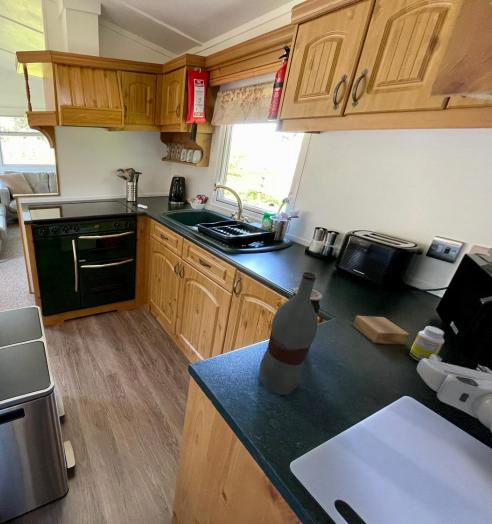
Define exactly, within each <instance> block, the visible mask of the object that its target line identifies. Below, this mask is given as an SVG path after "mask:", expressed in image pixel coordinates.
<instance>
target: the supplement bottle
mask: <svg viewBox="0 0 492 524" xmlns="http://www.w3.org/2000/svg"><path fill="white" fill-rule="evenodd" d="M444 335H445V332H444V331H443V330H442V329H440V328H438V327H436V326H431V325H426V326H425V328H424V329H423V330H421V331H418V333H417V335H416V337H415V339H414V340H413V341H414V342H413V343H412V346H411V347H410V349H409V352H408V354H409V356H410V357H411V358H412V359H413V360H415V361H417V362H418V363H419V362H420V361H421V360H422V359H423V358H427V359H429V357H430V356H431V354H433V355H437V356H438V354H439V353H440V351H441V349H442V347H443V345H444V343H445V339H444Z"/></svg>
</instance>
